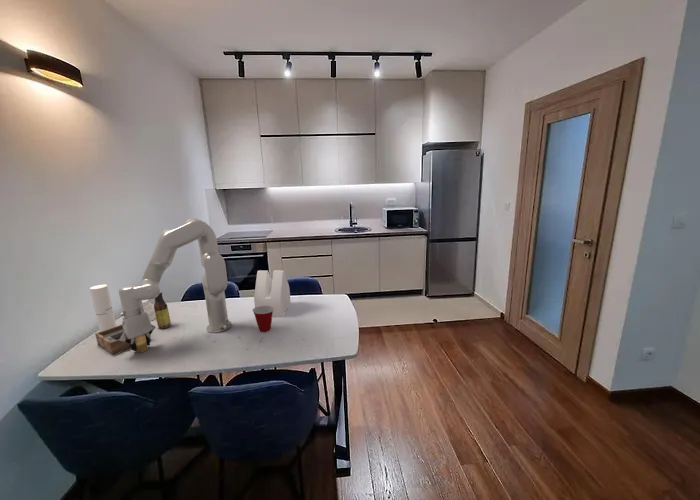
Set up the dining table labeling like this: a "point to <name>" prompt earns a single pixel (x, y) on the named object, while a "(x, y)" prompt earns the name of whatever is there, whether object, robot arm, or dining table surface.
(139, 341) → the peg
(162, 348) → the dining table surface
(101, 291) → the cylindrical container
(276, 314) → the white notched block
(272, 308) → the plastic cup
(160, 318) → the sauce bottle
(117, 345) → the peg box
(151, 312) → the honey pot
